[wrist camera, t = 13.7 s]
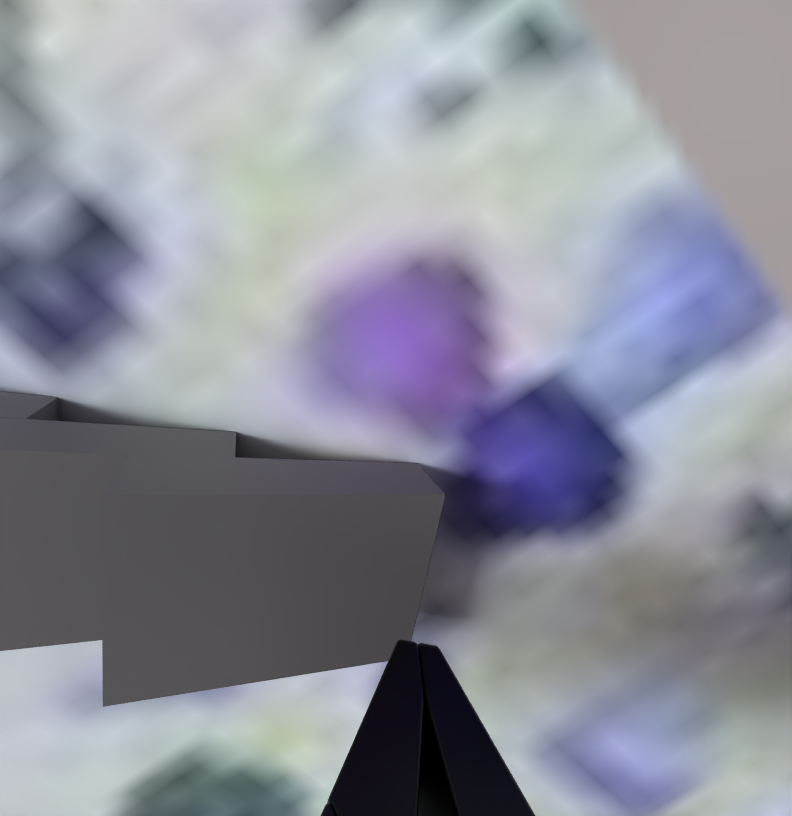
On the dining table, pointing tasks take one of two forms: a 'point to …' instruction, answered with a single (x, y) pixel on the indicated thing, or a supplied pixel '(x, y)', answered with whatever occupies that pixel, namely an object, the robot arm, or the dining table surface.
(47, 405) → the domino
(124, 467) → the domino
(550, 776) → the dining table surface
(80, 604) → the domino
